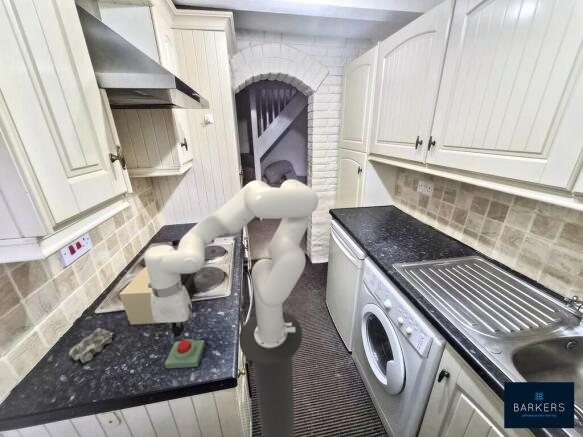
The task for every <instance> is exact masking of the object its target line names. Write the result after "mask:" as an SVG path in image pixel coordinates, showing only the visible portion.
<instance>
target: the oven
mask: <svg viewBox="0 0 583 437" xmlns="http://www.w3.org/2000/svg"><path fill="white" fill-rule="evenodd" d="M149 283H151V282H150V278H149V275H148V271H147V268H146V266H144V267H143V268H142V270H141V271H140V272H139V273H138V274H137V275H136V276H135V277H134V278H133V279H132V280H131V281H130V282H129V283H128V284H127V285H126V286H125V287H124V288H123V289H122V290H121V291H120V292H119V294H118V296H119V298H120V300H121V303H122V306H123V308H124V311H125V315H126V316H127V319H128V321H129V324H130V325H149V324H150V325H151V324H160V323H159V322H155V321H154V318H153V315H152V309H151V293H152V292H153V290H152V288H148V284H149Z"/></svg>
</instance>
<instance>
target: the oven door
mask: <svg viewBox="0 0 583 437" xmlns="http://www.w3.org/2000/svg"><path fill="white" fill-rule="evenodd" d="M197 273H198V272H195V273H189V274H180V277H181V282H182V285H183V286H185V288H186V290H187V292H188V294H189V297H190V300H191V299H192V298H193V296H194V294H195V292H196V290H197V288H196V282H195V277H196V275H197ZM194 289H195V290H194ZM193 291H194V292H193Z"/></svg>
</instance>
